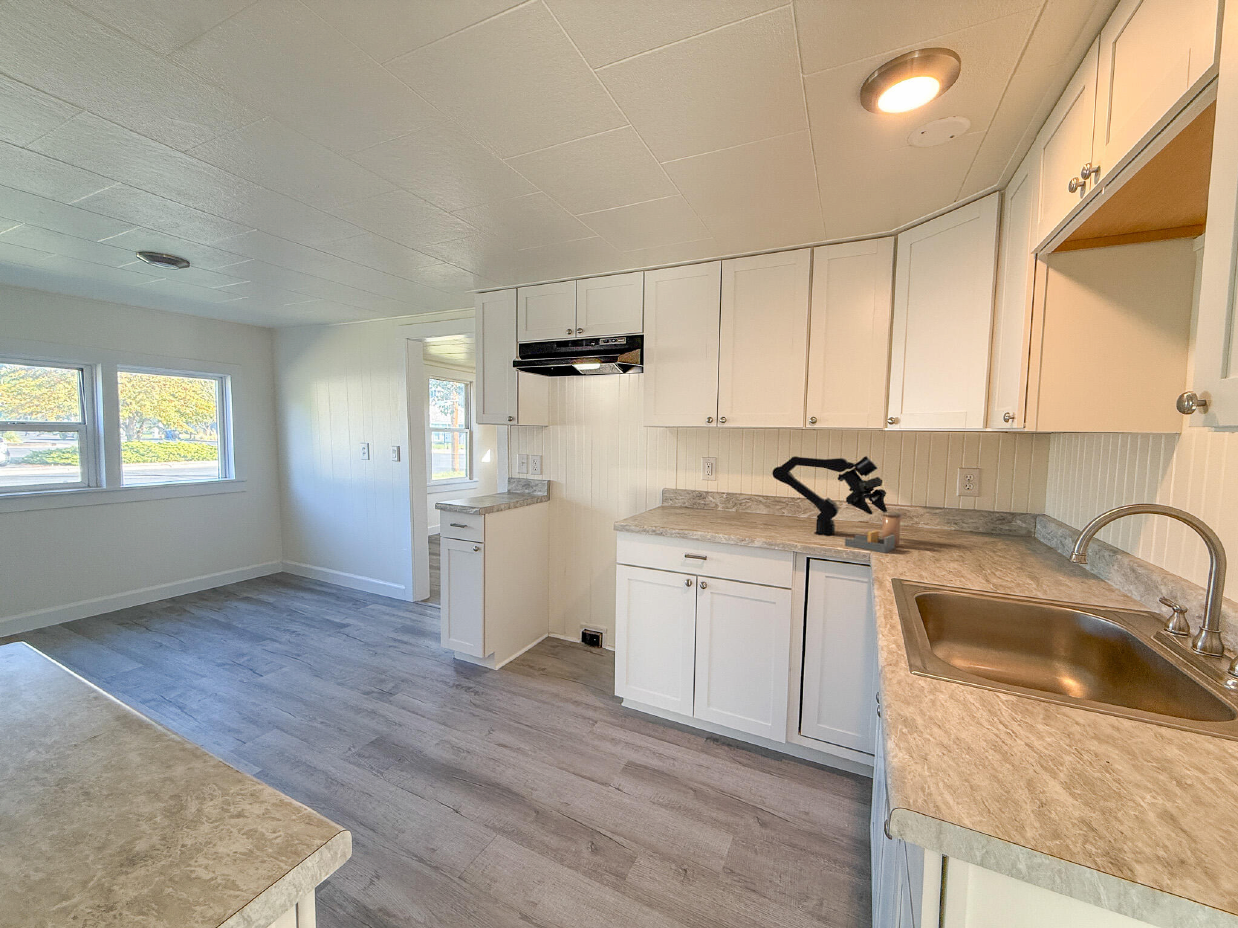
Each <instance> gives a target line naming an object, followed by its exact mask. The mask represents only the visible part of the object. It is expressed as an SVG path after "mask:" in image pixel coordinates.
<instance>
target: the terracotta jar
mask: <svg viewBox="0 0 1238 928" xmlns="http://www.w3.org/2000/svg"><path fill="white" fill-rule="evenodd" d="M901 519H902V513H901V512H894V511H887V512H882V531H881V539H884V538H885V537H888V536H890V535H895V549H897V548H900V536H901V521H902V520H901Z"/></svg>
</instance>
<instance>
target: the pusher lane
mask: <svg viewBox="0 0 1238 928" xmlns="http://www.w3.org/2000/svg"><path fill="white" fill-rule="evenodd" d="M867 541H868V536H866V535H860V534H859V535H858V534H854V538H850V537H849V538H848V537H845V538H844V546H845V547H848V548H855V549H860V550H865V551H872V552H876V553H882V554H887V553H889V552H891V551H894V550H895V549H896V548H895V535H890V536H888V537H885V538H884V539H882V538H879V537H878V543H873V542H867Z"/></svg>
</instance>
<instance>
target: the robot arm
mask: <svg viewBox="0 0 1238 928" xmlns="http://www.w3.org/2000/svg"><path fill="white" fill-rule="evenodd" d="M797 466H801V467H813V468H822V469H826V470H829V471H833V472H836V473H842V474H838V476H837V480H838V481H839V482H843V481H844V482H845V483H846V484H847V486H848V487H849V488H848V490H849V492H851V493H849V494H848V495H847V496H846V498H845V501H846V503H847V505H851V506H853V507H855V508H857V509H859V510H861V511H862V512H864V513H866V514H868V515H873V514H874V513H873V511H872V509H871V507H870V506H869V504H868V503H867V501H866V500H867V499H868V500H869V502H871V504H872V505H873V506H874V507H876V508H877V509H878V510H880V511H881V513H883V512H888V510H887V506H886V504H885V501H884V500H885V497H886V494H887V491H885V489H882V488H879V489H875V488H878V487H882V484H883V480H882V479H881V478H880V477H879V476H876V477H874V478H870V479H867V480H863V478H862V477H863V476H865V477H867V476H869V475H871V474H873V472H875V471H876V470H877V469H878V466H877V465H876V464H875V463H874V462H873V460H871V459H870V458H869V457H868V456H867V455H865V456H863V458H861V459H860V460H859V461H857V462H856V463H854V462H849V461H848V460H847V459H846V458H843V457H836V458H827V459H825V458H813V457H803V456H797V455H796V456H792V457H791V458H790V459H789V460H787V461H786V462H785V463H783V464H782V465H780V466H777V467H775V468H773V470H772V472H771V473H772V474H771V475H772V476H773V478H774V479H775V480H777V481H779V482H781V483H783V484H786V485H788V486H790V487H791V488H792V489H793V490H795V491H796V492H797V493H799V494H800V495H801V496H803V497H804V498H805V499H807V500H808V501H809V502H810V503H812V504H814V506H816V508H817V510H818V511H819V512H820V513H818V515H816V518H817V519H816V526H815V527H816V528H815V532H814V534H815V535H820V536H821V535H822V536H827V537H830V536H832V535H836V533H835V527H836V524H835V520H833V518H834V517H836V516H837V515H838V514H839V511H840V510H839V507H838V505H837V502H835V501H833V500H832V499H831V498H830V497H827V498H826V499H825V498H823V497H821V496H820V495H818V494H817V493H816V492H815V491H813V490H811V488H809V487H807V485H805V484H804V483H803V482H801V481H800V480H798V479H797V478H796V477H795V476H794V475H793V474H792V472H791V471H792V470H793V469H794V468H795V467H797ZM860 476H861V477H860ZM814 534H813V535H814Z"/></svg>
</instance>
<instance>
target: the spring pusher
mask: <svg viewBox="0 0 1238 928" xmlns="http://www.w3.org/2000/svg"><path fill="white" fill-rule="evenodd" d="M879 532H880V530H877V529H876V530H875V529H874V530H872V531H869V532H867V537H868V541H867V542H873V543H878V538H879V534H880V533H879Z"/></svg>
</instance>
